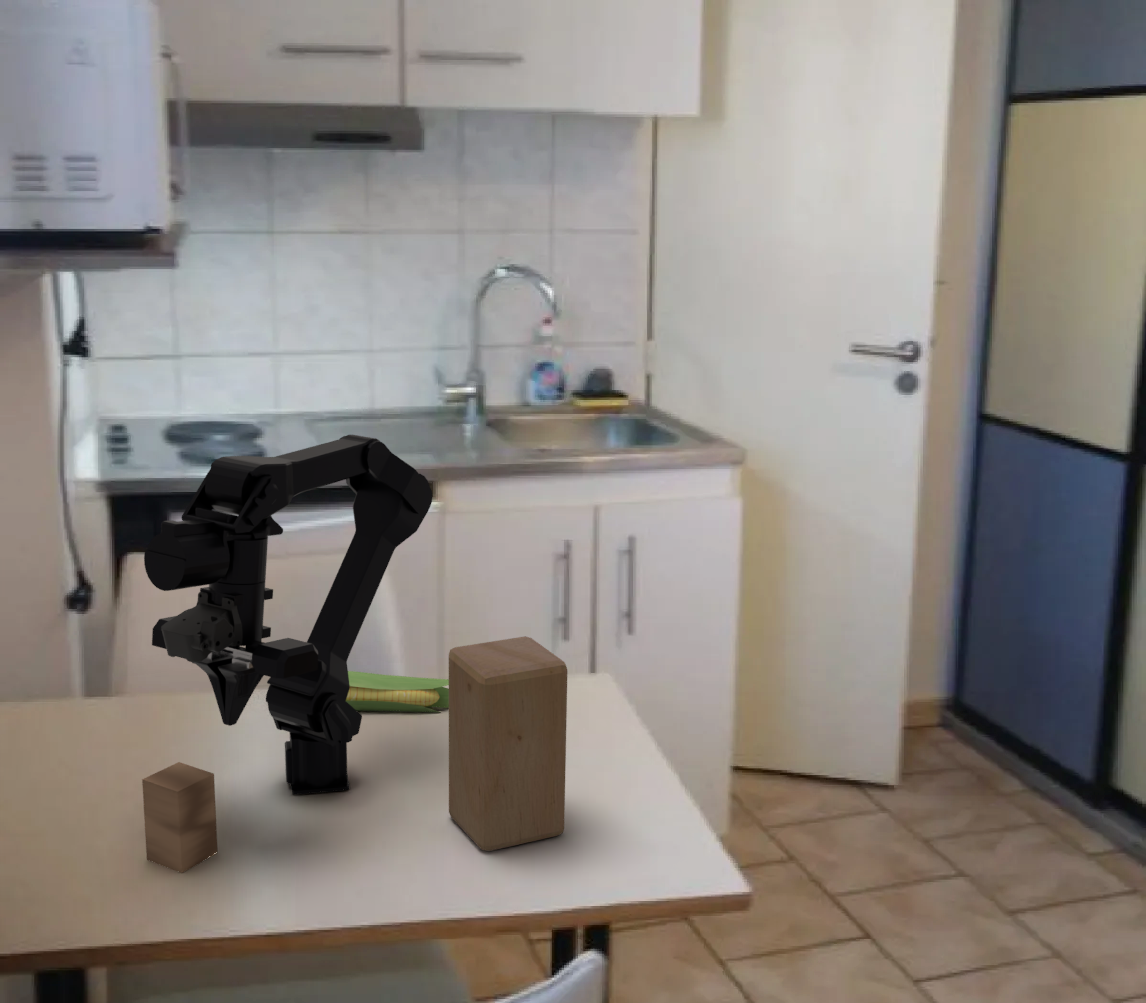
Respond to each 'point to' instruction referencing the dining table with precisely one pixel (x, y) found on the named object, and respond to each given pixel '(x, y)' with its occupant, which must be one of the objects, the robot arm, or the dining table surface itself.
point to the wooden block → (507, 742)
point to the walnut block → (180, 816)
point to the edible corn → (396, 693)
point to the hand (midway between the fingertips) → (229, 724)
